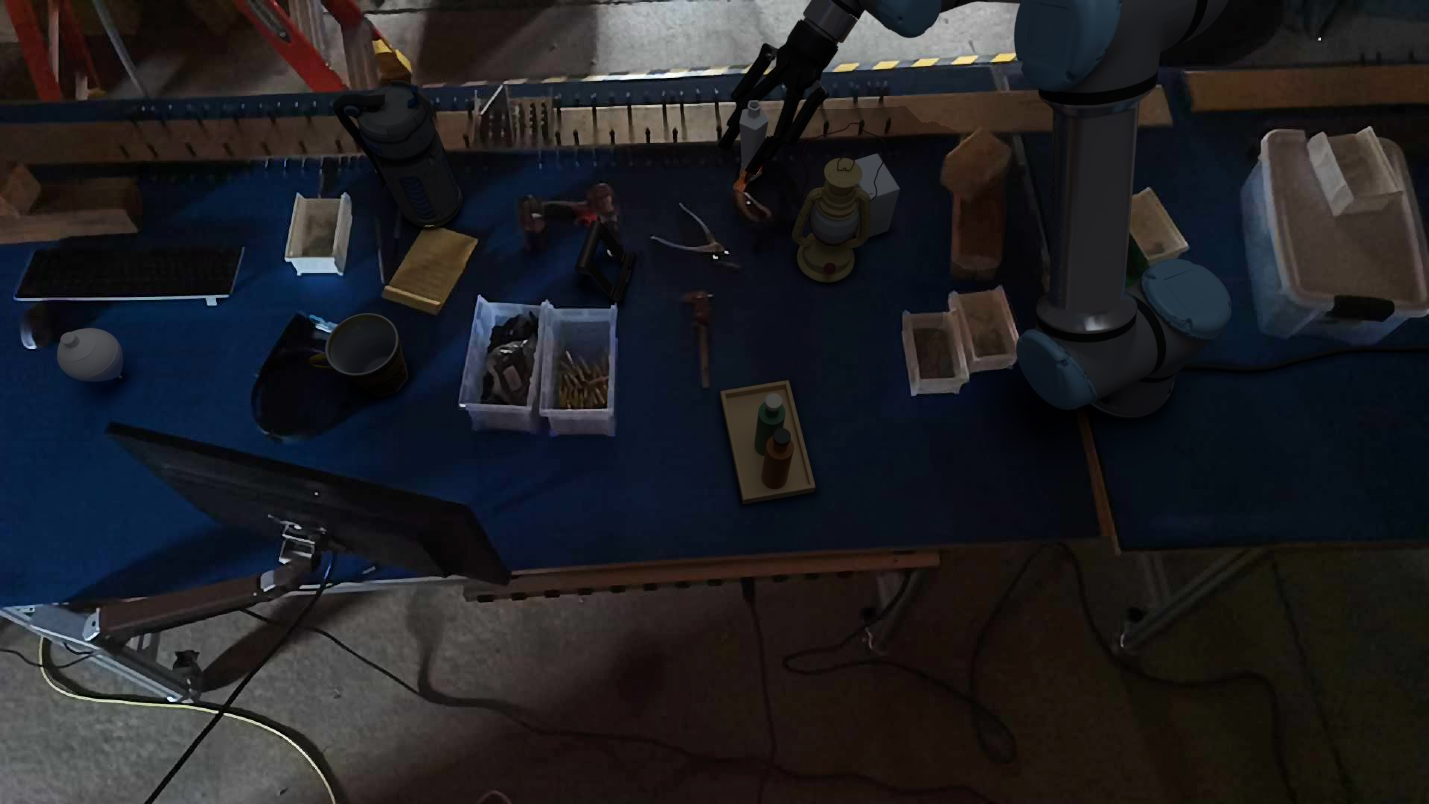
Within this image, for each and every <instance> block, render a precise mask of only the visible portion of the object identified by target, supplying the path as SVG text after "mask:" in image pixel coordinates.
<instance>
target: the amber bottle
mask: <svg viewBox="0 0 1429 804" xmlns="http://www.w3.org/2000/svg"><path fill="white" fill-rule="evenodd" d="M793 451H794V444H793V441H792V440H791V434H790V432H789V431H788V430H787V429H785V428H779V429H777V430H776V431H775V432H774V435H773V436H772V437H770V438H769V439H768V441H767V444H766V450H765V457H764V463H763V470H762V481H763V483H764V485H765V486H766V487H768V488H770V489H779V488H781V487H783V486H784V485H785V483H786V481H787V477H788V473H789V469H790V464H791V460H792V455H793Z"/></svg>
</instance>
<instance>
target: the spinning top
mask: <svg viewBox="0 0 1429 804" xmlns="http://www.w3.org/2000/svg"><path fill="white" fill-rule="evenodd" d="M59 340H60V342H59V344H58V346H57V352H56V360H57V363H58V365H59V367H60V369H61V370H62V371H63V372H64V373H65V374H66V375H67V376H69V377H71V378H73V379H74V380H78V381H82V382H104V381H109V380H114V379H117V378H118V379H120V380H121V379H123V376H122V375H121V374H122V371H123V365H124V355H123V350H122V346H121V344H120V343H119V341H118V339H117V338H116V337H115V336H114V335H113V334H111V333H110V332H108V331H106V330H103V329H100V328H96V327H86V328H80V329H76V330H73V331H68V332H65V333H63V334H62V335H61V336H60V339H59Z"/></svg>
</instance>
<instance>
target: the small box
mask: <svg viewBox="0 0 1429 804" xmlns="http://www.w3.org/2000/svg"><path fill="white" fill-rule="evenodd" d="M854 160H855V162H856V163H857V164H858V165H859V166H860V168H861V170H862V178H861V180H860V181H859V183H858V184H857V185H856V186H857V187H856V188H859V189H863V190H864V191H866V192H867V193H868V194H869V196H870V201H871V200H872V198H873V197H874V196H875V195H876V189H875V186H874V179H875V177H876V174H877V170H878V168H879V167H880V165H881V164H882V162H883V160H882V158H881V157H880V154H879V153H874V154H871V155H868V156H865V157H861V158H858V159H854ZM875 184H876V187H877V196H876V197H875V198H874V199H873V200H872V201H871V202H870V215H871V222H870V235H869V238H872V237H876V236H878V235H881V234H884V233H886V232H889V231H890V228H891V223H892V219H893V216H894V212H895V208H896V205H897V201H898V199H899V194H900V191H901V187H899V186H900V185H898V183H897V182H896V180H895V178H894V177H893V176H892V174H891V172H890V171H889V169H888V167H887V166H886V164H885V162H884V163H883V165H882V166H881V168H880V169H879V172H878V176H877V178H876V181H875ZM857 199H858V202H857V203H858V207H859V198H857ZM859 227H860V216H859V224H858V230H857V233H856V234H855V235H854V236H855V238H857V237H858V236H859ZM856 229H857V227H856ZM855 231H856V230H855ZM854 233H855V232H854Z"/></svg>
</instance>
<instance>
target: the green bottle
mask: <svg viewBox="0 0 1429 804" xmlns="http://www.w3.org/2000/svg"><path fill="white" fill-rule="evenodd" d="M785 415H786V411H785V408H784V406H783V405H782V398H781V396H780V395H779V394H776V393H771V394H769V395H767V397H766V399H765V402H764V403H762V404H761V405H760V407H759V410H758V418H757V426H756V435H755V443H754V447H755V450H756V451H757V453H759V454H760V455H762V456H765V450H766V444H767V441H768V439H769V438H770V437H772V436H773V435H774V432H775V431H776V430H777V429H779V428H783V425H784V420H785Z"/></svg>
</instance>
